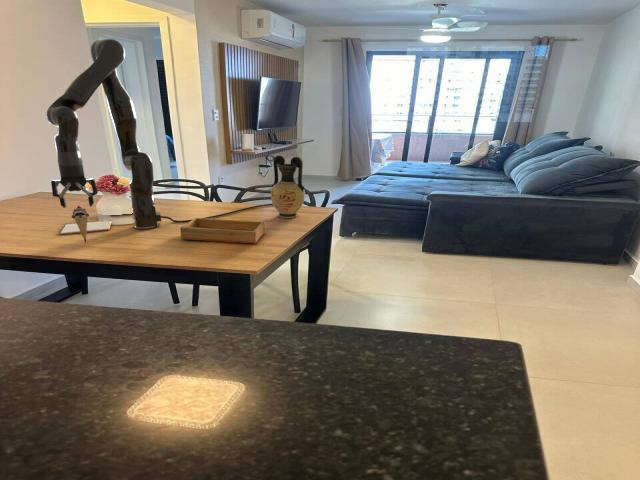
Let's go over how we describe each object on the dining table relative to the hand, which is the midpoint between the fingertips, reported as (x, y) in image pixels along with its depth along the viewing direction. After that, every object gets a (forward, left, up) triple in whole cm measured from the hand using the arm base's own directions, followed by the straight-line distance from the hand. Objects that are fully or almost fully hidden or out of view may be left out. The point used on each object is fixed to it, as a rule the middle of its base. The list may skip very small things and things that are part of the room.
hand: (78, 206), depth 145 cm
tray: (-52, +11, -15) cm, 55 cm away
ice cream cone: (0, 0, -15) cm, 15 cm away
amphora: (-88, -12, -15) cm, 90 cm away
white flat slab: (+2, -23, -15) cm, 27 cm away
